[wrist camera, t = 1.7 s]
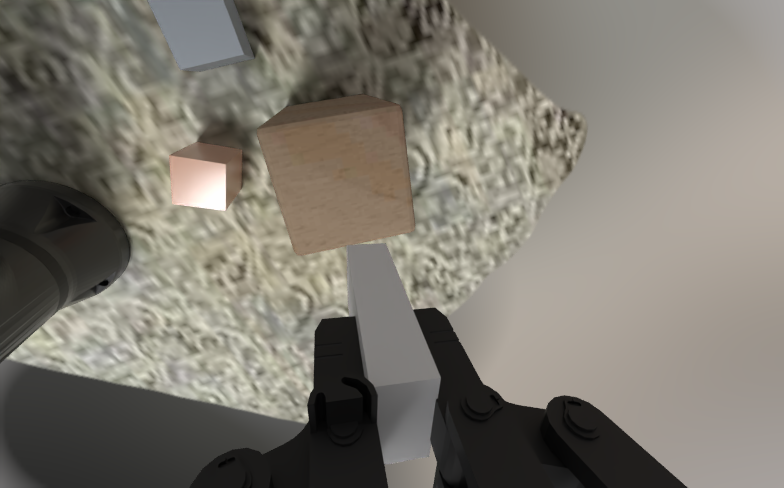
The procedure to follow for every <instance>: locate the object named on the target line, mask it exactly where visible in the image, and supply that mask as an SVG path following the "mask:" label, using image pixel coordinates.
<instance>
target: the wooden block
mask: <svg viewBox="0 0 784 488" xmlns="http://www.w3.org/2000/svg"><path fill="white" fill-rule="evenodd" d="M257 137H258V140H259V143H260V146H261V149H262V152H263V155H264V158H265V162H266V165H267V168H268V171H269V174H270V177H271V180H272V183H273V187H274V190H275V193H276V196H277V199H278V202H279V205H280V208H281V212H282V215H283V218H284V221H285V224H286V227H287V230H288V233H289V237H290V240H291V243H292V246H293V249H294V251H295V253H296V254H297V255H299V256H302V255H307V254H312V253H316V252H321V251H326V250H330V249H335V248H339V247H344V246H347V245H353V244H358V243H363V242H367V241H372V240H377V239H381V238H386V237H391V236H395V235H400V234H405V233H409V232H412V231H414V229H415V218H414V209H413V200H412V192H411V183H410V174H409V165H408V157H407V148H406V139H405V131H404V122H403V113H402V108H401V107H400V105H399V104H396V103H392V102H389V101H385V100H382V99H378V98H375V97H371V96H368V95H364V94H360V95H353V96H347V97H341V98H335V99H329V100H323V101H317V102H310V103H304V104H298V105H292V106H287V107H285V108H284V109H283V110H281V111H280V112H279V113H277V114H276V115H275V116H273V117H272V118H271V119H269V120H268V121H267V122H265V123H264V124H263V125H261V126H260V127H259V128H257Z"/></svg>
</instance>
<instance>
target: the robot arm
mask: <svg viewBox="0 0 784 488" xmlns="http://www.w3.org/2000/svg"><path fill="white" fill-rule="evenodd" d="M129 254H130V250H129V243H128V240H127V237H126V234H125V232H124V230H123V228H122V227H121V225H120V224H119V222H118V221H117V220H116V219H115V217H114V216H113V215H112V214H111V213H110V212H109V211H108V210H107V209H106V208H104V207H103V206H102V205H101V204H99V203H98V202H96V201H95V200H94V199H92V198H90V197H89V196H87V195H85V194H83V193H81V192H79V191H77V190H74V189H72V188H69V187H66V186H63V185H59V184H55V183H51V182H44V181H18V182H12V183H8V184H5V185H2V186H0V363H1V362H2V361H3V360H4V359H6V358H7V357H8V356H9V355H10V354H11V353H12V352H13V351H14V350H15V349H17V348H18V347H19V346H20V345H21V344H22V343H23V342H24V341H25V340H26V339H28V338H29V337H30V336H31V335H32V334H33V333H34V332H35V331H36V330H37V329H39V328H40V327H41V326H42V325H43V324H44V323H45V322H46V321H47V320H48V319H50V317H52V316H53V315H54V314H55V313H56V312H57V311H58V310H60V309H63V308H65V307H68V306H70V305H73V304H75V303H78V302H80V301H83V300H85V299H88V298H90V297H93V296H95V295H97V294H99V293H101V292H102V291H104V290H105V289H107V288H108V287H109V286H110V285H111V284H113V283H114V282H115V281H116V280H117V279H118V278H119V277H120V276H121V275H122V273H123V272H124V270H125V269H126V267H127V264H128V261H129ZM347 285H348V308H349V316H350V317H340V318H329V319H322V320H321V322H320V324H319V325H318V327H317V329H316V330H315V348H314V389H313V390H312V392H311V393H310V397H309V401H308V404H307V406H308V416H309V422H308V423H307V425H306V426H305V428H304V429H303V430H302V431H301V432H300V433H299V434H298V435H297V436H296V437H295V438H293V439H292V440H290V441H289V442H287V443H285V444H284V445H281V446H279V447H277V448H275V449H273V450H271V451H269V452H267V453H265V454H263V455H262V454H261V453H260V452H259V451H255V450H252V449H249V448H243V449H235V450H231V451H229V452H227V453H224V454H222V455H220V456H218V457H217V458H215V459H214V460H213V461H212V462H210V463H209V464H208V465H207V466H205V467H204V468H203V469H202V470H201V472H200V473H199V475H198V476H197V477H196V479H195V480H194V481H193V483H192V484H191V486H190V488H388V484H387V478H386V472H385V466H384V465H386V464H392V463H397V462H402V461H408V460H413V459H418V458H424V457H429V455H430V448H431V444H432V447H433V451H434V454H435V457H436V460H437V467H436V472H435V478H434V484H433V488H687V487H686V486H685V485H684V484H683V483H682V482H681V481H679V480H678V479H677V478H676V477H675V476H674V475H673V474H672V473H670V472H669V471H668V470H667V469H666V468H665V467H664V466H662V465H661V464H660V463H659V462H658V461H657V460H656V459H655V458H653V457H652V456H651V455H650V454H649V453H648V452H646V451H645V450H644V449H643V448H642V447H641V446H640V445H639V444H637V443H636V442H635V441H634V440H633V439H632V438H631V437H630V436H628V435H627V434H626V433H625V432H624V431H622V429H621V428H619V427H618V426H617V425H616V424H615V423H614V422H613V421H612V420H610V419H609V418H608V417H607V416H606V415H604V413H602V412H601V411H600V410H599V409H597V408H596V407H594V406H593V405H591V404H590V403H588V402H586V401H584V400H581V399H579V398H577V397H571V396H565V395H564V396H560V397H555V398H553V399H552V400H551V401H550V402H549V403H548V405H547V408H546V409H540V408H533V407H527V406H521V405H515V404H512V403H508V402H506V401H504V400H503V398H502V397H501V396H500V395H499V394H498V393H497V392H496V391H494V390H493V389H491V388H490V387H488V386H486V385H484V384H483V383H482V381H481V380H480V378H479V376H478V374H477V372H476V371H475V369H474V367H473V365H472V363H471V361H470V359H469V358H468V356H467V354H466V352H465V350H464V348H463V346H462V345H461V343H460V342H459V339H458V337H457V335H456V333H455V332H454V331H453V328H452V326H451V324H450V323H449V320H448V319H447V317H446V316H445V315H443V314H442V313H441V312H440V311H439V310H437V309H436V308H426V309H415V310H413V309H412V306H411V304H410V301H409V299H408V296H407V294H406V291H405V289H404V287H403V284H402V282H401V279H400V277H399V274H398V272H397V269H396V267H395V265H394V262H393V260H392V257H391V255H390V252H389V250H388V248H387V245H386V243H381V244H361V245H347Z"/></svg>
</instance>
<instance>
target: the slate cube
mask: <svg viewBox="0 0 784 488" xmlns="http://www.w3.org/2000/svg"><path fill="white" fill-rule="evenodd" d="M147 1H148V3H149V5H150V7H151V9H152V11H153V13H154V15H155V18H156V20H157V22H158V24H159V26H160V28H161V30H162V32H163V34H164V37H165V39H166V41H167V43H168V45H169V47H170V49H171V51H172V54H173V56H174V58H175V60H176V62H177V64H178V66H179V68H180V70H188V71H200V72H201V71H205V70H209V69H213V68H217V67H221V66H226V65H230V64H234V63H238V62H242V61H246V60H250V59H254V58H255V57H254V55H253V52H252V49H251V47H250V44H249V41H248V38H247V36H246V33H245V30H244V28H243V25H242V22H241V19H240V17H239V14H238V11H237V9H236V6H235V3H234V0H147Z"/></svg>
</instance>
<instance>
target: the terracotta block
mask: <svg viewBox="0 0 784 488" xmlns="http://www.w3.org/2000/svg"><path fill="white" fill-rule="evenodd" d="M169 160H170V176H171V191H172V204H175V205H184V206H192V207H200V208H208V209H217V210H225V211H226V209H227V208H228V207H229V205H230V204H231V203H232V201H233V200H234V198H235V197H236V196H237V194H238V193H239V192H240V190H241V183H242V149H236V148H230V147H224V146H218V145H212V144H206V143H200V142H195V143H193V144H191V145H189V146H187V147H185V148H183V149H181V150H179V151H177V152H175V153H173V154H171V155H169Z"/></svg>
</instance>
